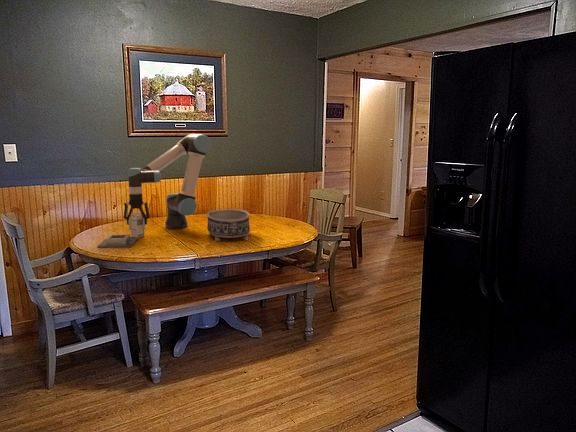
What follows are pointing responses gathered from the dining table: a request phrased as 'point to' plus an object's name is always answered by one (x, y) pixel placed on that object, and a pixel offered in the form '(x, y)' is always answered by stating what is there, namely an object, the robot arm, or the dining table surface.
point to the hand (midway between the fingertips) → (137, 229)
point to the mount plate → (118, 241)
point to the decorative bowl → (228, 223)
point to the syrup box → (136, 225)
